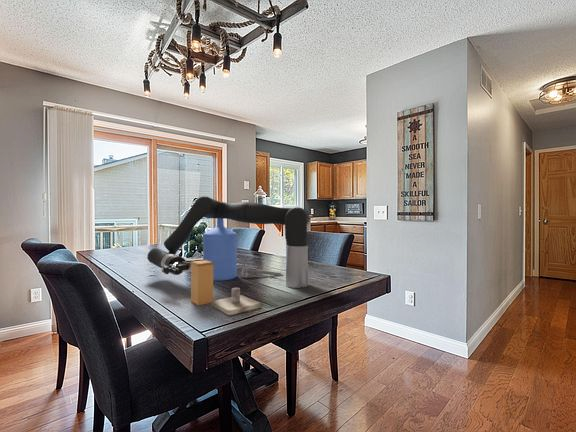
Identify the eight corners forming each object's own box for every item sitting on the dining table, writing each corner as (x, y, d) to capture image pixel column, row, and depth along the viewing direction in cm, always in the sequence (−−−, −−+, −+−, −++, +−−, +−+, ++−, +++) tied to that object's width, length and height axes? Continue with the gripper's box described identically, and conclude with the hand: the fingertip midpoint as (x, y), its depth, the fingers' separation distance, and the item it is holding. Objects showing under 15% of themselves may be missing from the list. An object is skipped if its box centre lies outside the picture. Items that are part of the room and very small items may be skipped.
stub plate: (241, 298, 112) (241, 282, 111) (260, 307, 103) (260, 289, 102) (210, 305, 104) (210, 288, 104) (229, 315, 95) (229, 296, 95)
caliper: (241, 278, 145) (241, 265, 144) (241, 277, 146) (241, 264, 146) (283, 276, 150) (283, 263, 150) (283, 275, 151) (283, 262, 151)
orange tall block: (205, 298, 112) (206, 260, 111) (213, 302, 108) (213, 262, 107) (191, 301, 108) (191, 261, 108) (198, 305, 104) (198, 264, 104)
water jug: (227, 282, 135) (227, 218, 134) (196, 279, 140) (196, 218, 139) (242, 275, 150) (242, 217, 149) (213, 272, 155) (213, 217, 154)
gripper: (155, 256, 123) (170, 262, 110) (190, 253, 132) (207, 258, 120) (155, 275, 123) (170, 283, 111) (189, 270, 132) (207, 278, 120)
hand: (189, 270), depth 115 cm, fingers open, 8 cm apart
